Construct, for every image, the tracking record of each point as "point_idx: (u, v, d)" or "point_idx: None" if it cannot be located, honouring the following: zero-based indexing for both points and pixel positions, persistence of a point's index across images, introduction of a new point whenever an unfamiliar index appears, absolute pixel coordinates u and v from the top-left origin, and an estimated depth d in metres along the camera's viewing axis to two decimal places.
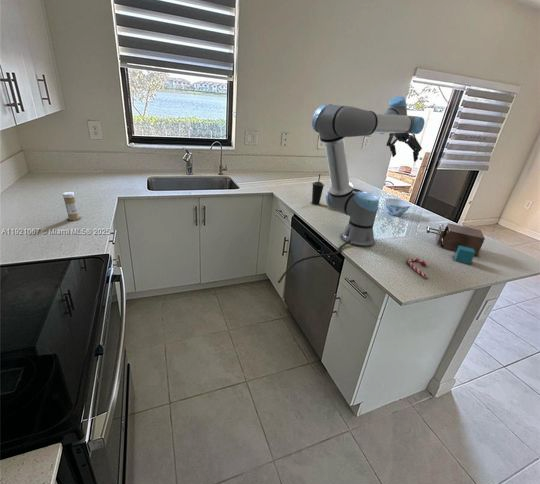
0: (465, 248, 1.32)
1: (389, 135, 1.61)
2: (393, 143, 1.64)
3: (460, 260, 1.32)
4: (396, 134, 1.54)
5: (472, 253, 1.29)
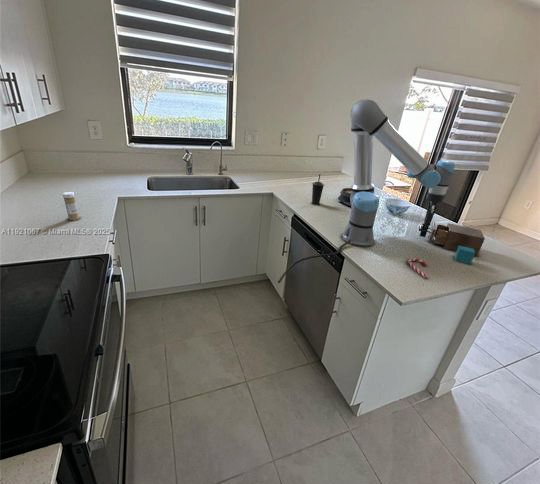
0: (465, 248, 1.32)
1: None
2: (426, 215, 1.48)
3: (460, 260, 1.32)
4: None
5: (472, 253, 1.29)
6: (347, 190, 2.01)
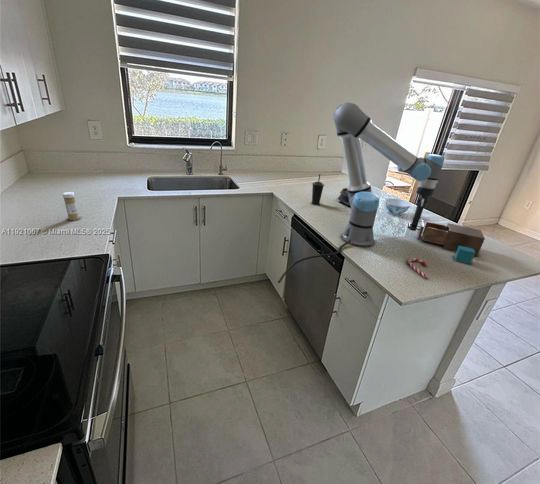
0: (465, 248, 1.32)
1: None
2: (416, 209, 1.49)
3: (460, 260, 1.32)
4: None
5: (472, 253, 1.29)
6: (347, 190, 2.01)
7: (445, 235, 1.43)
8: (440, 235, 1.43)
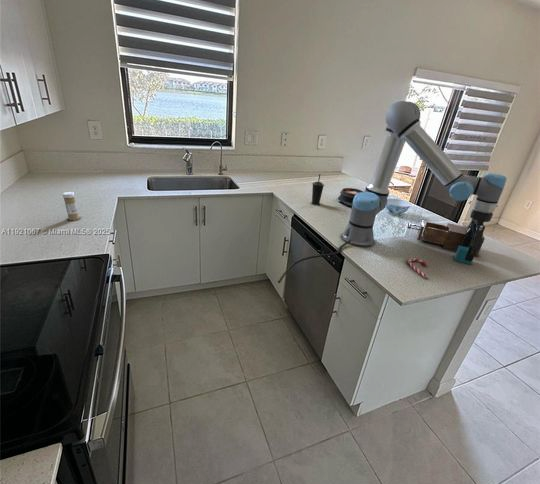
0: (465, 248, 1.32)
1: (472, 218, 1.32)
2: (468, 229, 1.32)
3: (460, 260, 1.32)
4: (470, 214, 1.26)
5: None
6: (347, 190, 2.01)
7: (445, 235, 1.43)
8: (441, 235, 1.43)
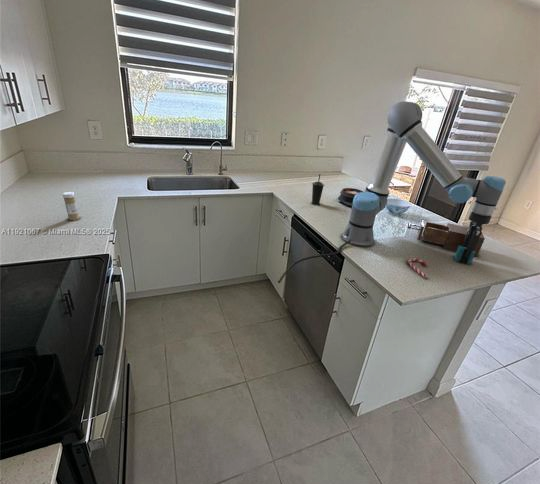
0: None
1: None
2: (467, 236, 1.31)
3: None
4: (469, 216, 1.26)
5: (472, 253, 1.29)
6: (347, 190, 2.01)
7: (445, 235, 1.43)
8: (441, 235, 1.43)
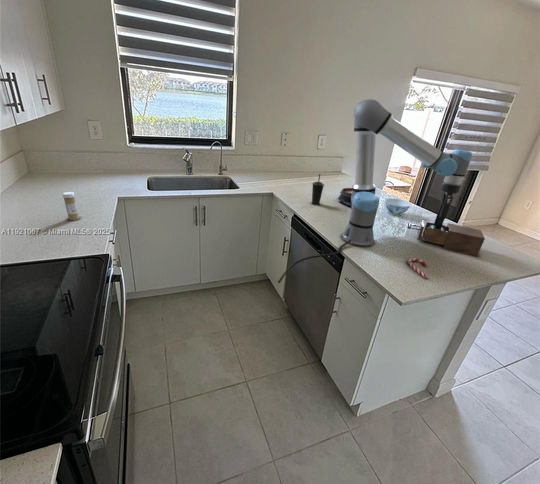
0: None
1: None
2: (440, 205, 1.46)
3: None
4: None
5: None
6: (347, 190, 2.01)
7: (445, 235, 1.43)
8: (441, 235, 1.43)
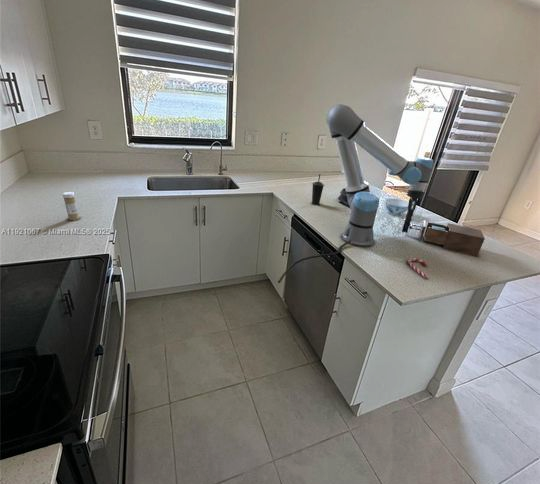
0: (437, 227, 1.47)
1: None
2: (407, 211, 1.52)
3: None
4: None
5: None
6: None
7: (447, 235, 1.42)
8: (442, 235, 1.43)
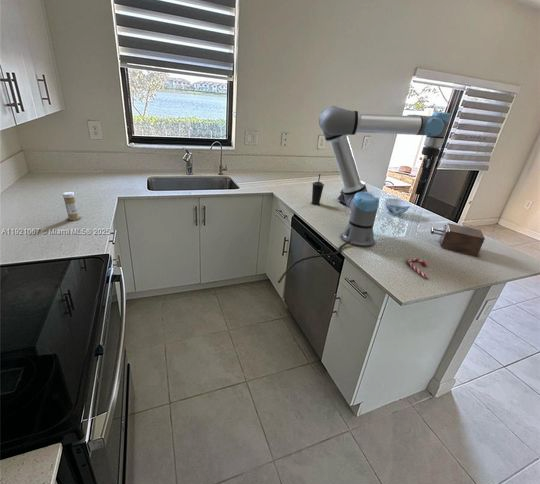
0: None
1: None
2: (421, 172, 1.45)
3: None
4: (422, 151, 1.41)
5: None
6: None
7: None
8: None
